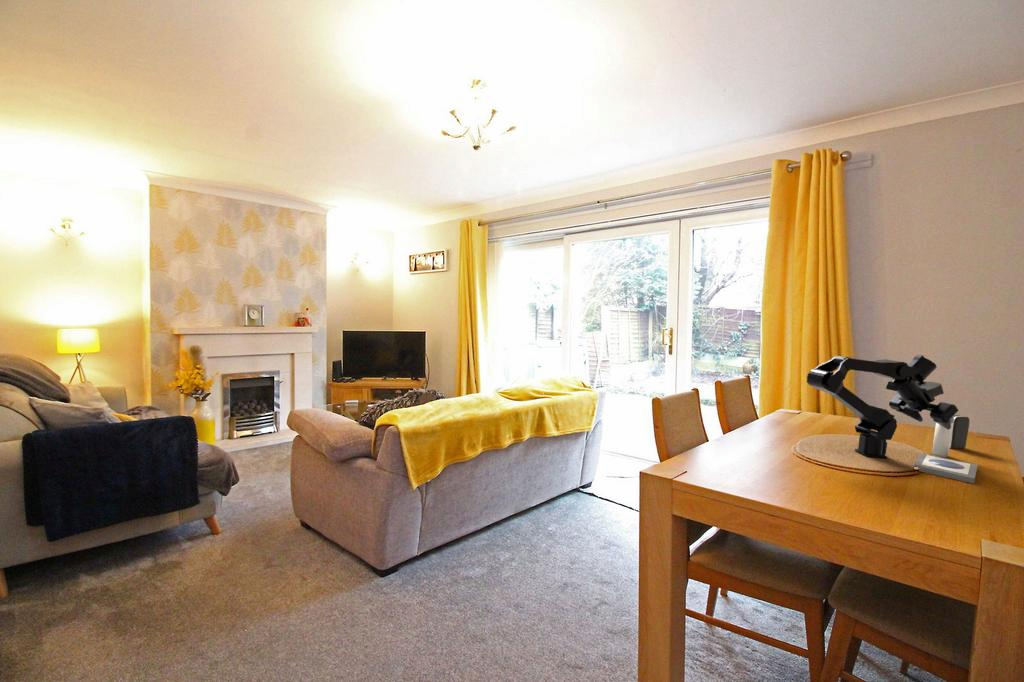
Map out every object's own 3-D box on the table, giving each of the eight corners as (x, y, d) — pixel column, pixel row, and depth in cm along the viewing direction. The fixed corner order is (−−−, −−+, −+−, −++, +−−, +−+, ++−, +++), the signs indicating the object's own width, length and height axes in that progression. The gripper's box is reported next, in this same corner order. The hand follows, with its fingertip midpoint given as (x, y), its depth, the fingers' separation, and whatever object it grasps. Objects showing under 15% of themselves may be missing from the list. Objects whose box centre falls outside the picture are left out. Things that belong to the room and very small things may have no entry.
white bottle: (937, 456, 156) (943, 414, 155) (928, 452, 160) (933, 411, 159) (951, 457, 156) (957, 415, 154) (941, 453, 160) (947, 412, 159)
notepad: (974, 483, 132) (974, 477, 132) (913, 469, 142) (914, 463, 141) (976, 469, 145) (977, 463, 145) (920, 457, 154) (921, 452, 154)
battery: (953, 445, 171) (958, 413, 170) (966, 448, 168) (971, 416, 167) (939, 445, 170) (944, 414, 169) (952, 449, 166) (956, 417, 165)
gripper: (957, 379, 145) (983, 415, 148) (900, 369, 164) (924, 401, 166) (931, 404, 145) (958, 439, 147) (877, 391, 163) (902, 423, 166)
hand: (935, 424), depth 157 cm, fingers open, 9 cm apart
